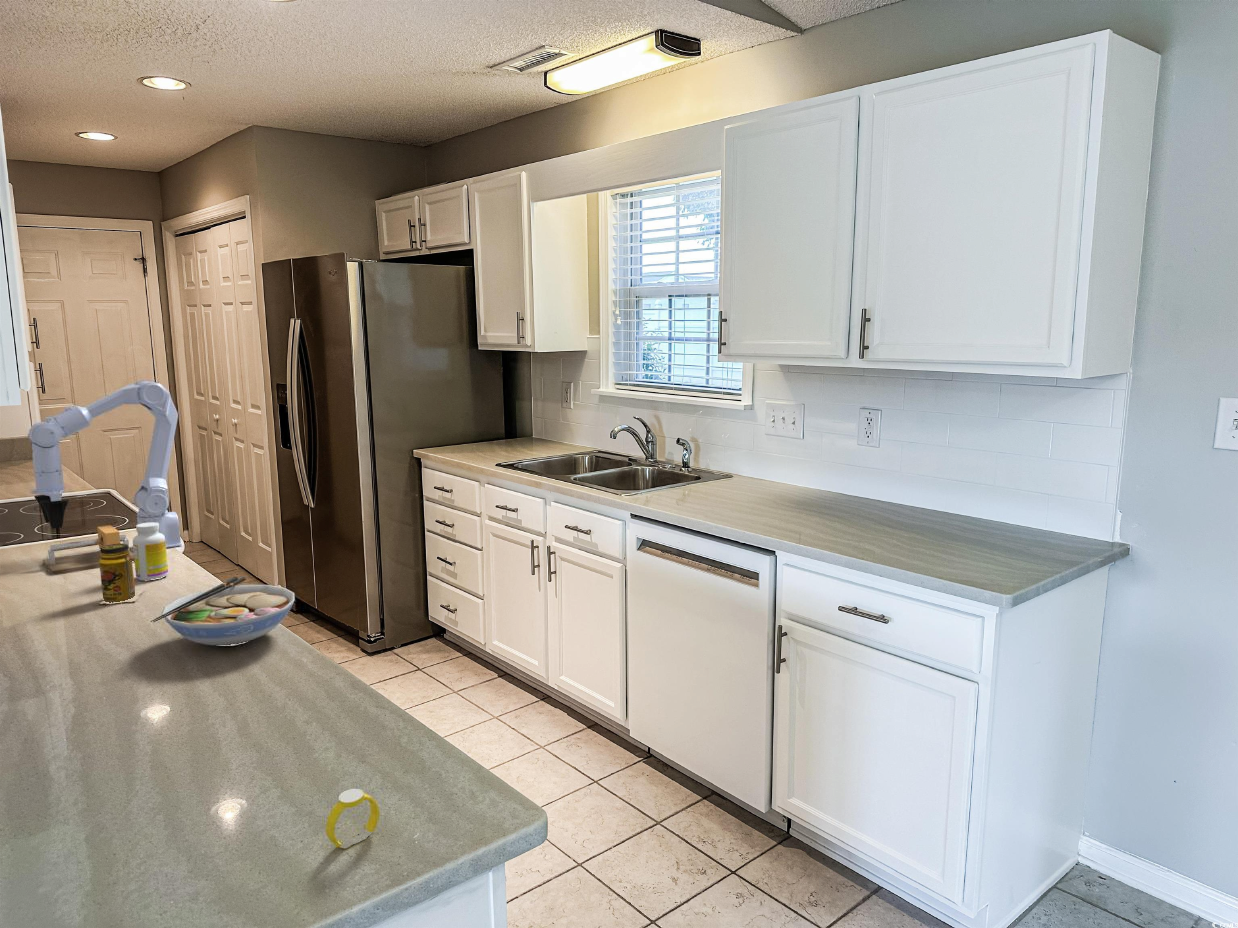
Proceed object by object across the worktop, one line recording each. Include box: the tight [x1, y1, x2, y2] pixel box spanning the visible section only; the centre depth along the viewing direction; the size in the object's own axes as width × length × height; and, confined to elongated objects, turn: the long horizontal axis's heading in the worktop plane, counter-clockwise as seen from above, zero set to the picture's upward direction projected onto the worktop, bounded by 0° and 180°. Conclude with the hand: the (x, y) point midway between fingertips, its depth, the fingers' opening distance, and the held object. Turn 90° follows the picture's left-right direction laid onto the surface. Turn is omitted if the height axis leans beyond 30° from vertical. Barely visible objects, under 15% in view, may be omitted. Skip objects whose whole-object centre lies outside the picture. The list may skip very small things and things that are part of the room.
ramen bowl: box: [150, 576, 295, 646], centre depth 158 cm, size 25×23×8 cm
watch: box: [325, 788, 380, 848], centre depth 96 cm, size 6×3×6 cm, turn 137°
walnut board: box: [42, 550, 134, 576], centre depth 209 cm, size 18×13×1 cm
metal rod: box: [47, 534, 131, 566], centre depth 208 cm, size 17×2×5 cm, turn 132°
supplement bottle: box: [132, 522, 169, 581], centre depth 196 cm, size 7×7×13 cm
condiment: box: [99, 542, 136, 603], centre depth 181 cm, size 7×8×12 cm
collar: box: [97, 524, 121, 550], centre depth 211 cm, size 3×9×6 cm, turn 42°
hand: (54, 525), depth 208 cm, fingers open, 7 cm apart
